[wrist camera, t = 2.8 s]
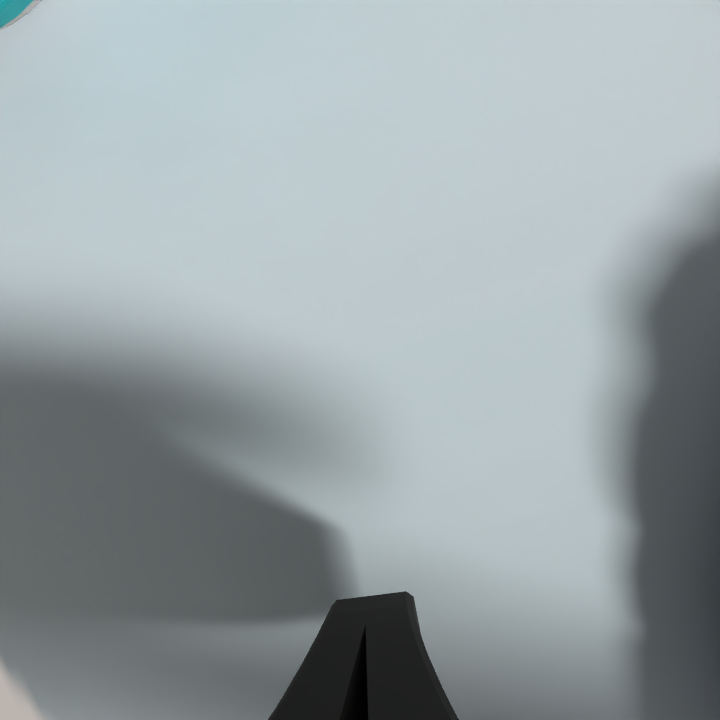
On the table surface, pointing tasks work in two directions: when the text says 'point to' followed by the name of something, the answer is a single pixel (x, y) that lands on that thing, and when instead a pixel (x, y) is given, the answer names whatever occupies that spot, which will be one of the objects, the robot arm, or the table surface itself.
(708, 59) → the table surface
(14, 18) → the beverage can
